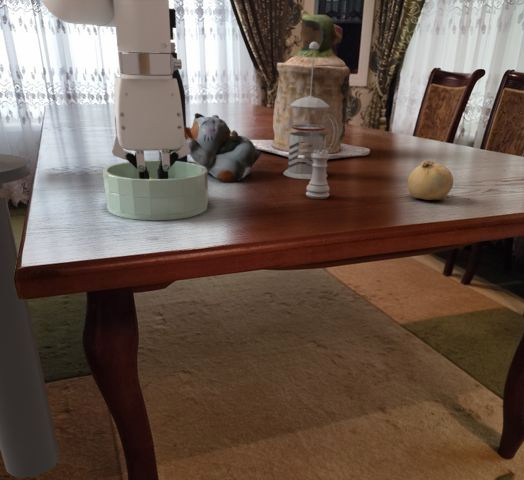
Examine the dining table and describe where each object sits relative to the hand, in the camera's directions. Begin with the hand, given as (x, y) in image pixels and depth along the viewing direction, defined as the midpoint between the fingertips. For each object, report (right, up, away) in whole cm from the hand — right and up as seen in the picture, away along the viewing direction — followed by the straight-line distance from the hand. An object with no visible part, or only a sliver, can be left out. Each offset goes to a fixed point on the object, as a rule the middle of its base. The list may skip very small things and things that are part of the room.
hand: (154, 194), depth 85 cm
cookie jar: (+30, +27, +55) cm, 68 cm away
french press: (+28, +13, +29) cm, 42 cm away
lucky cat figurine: (+9, +11, +25) cm, 29 cm away
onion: (+48, +3, +12) cm, 50 cm away
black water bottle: (-3, +18, +36) cm, 40 cm away
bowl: (0, -1, +2) cm, 2 cm away
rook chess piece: (+28, +3, +12) cm, 30 cm away
